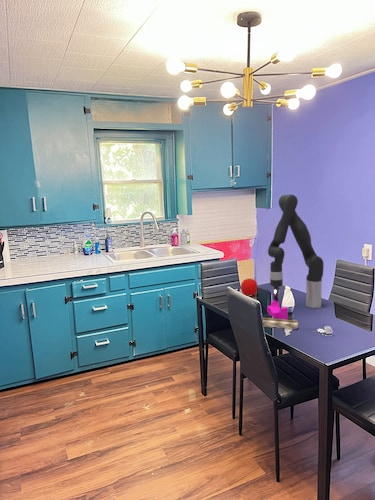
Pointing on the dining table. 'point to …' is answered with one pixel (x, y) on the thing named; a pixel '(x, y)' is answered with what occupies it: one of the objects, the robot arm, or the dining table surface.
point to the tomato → (249, 287)
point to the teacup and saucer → (325, 330)
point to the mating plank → (280, 323)
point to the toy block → (277, 310)
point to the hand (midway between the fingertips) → (276, 304)
